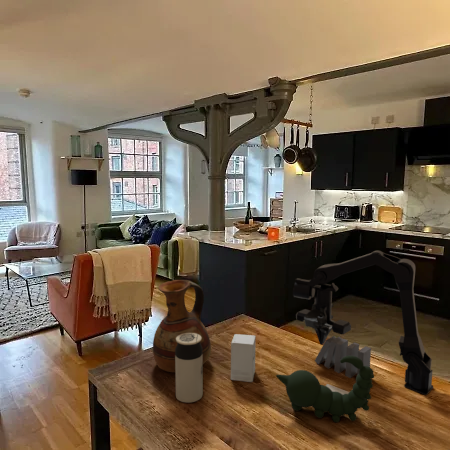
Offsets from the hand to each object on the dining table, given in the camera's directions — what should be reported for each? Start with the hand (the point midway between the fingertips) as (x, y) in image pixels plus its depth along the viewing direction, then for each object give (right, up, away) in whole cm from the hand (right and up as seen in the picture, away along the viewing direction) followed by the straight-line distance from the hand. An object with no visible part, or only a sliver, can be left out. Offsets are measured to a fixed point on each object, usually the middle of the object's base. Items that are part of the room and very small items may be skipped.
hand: (321, 344), depth 127 cm
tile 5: (+11, -8, -11) cm, 17 cm away
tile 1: (0, -6, +1) cm, 6 cm away
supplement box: (-28, -8, -9) cm, 30 cm away
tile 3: (+5, -7, -5) cm, 10 cm away
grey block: (+8, -7, -8) cm, 13 cm away
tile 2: (+2, -7, -2) cm, 7 cm away
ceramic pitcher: (-49, -7, -1) cm, 50 cm away
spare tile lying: (0, -9, -21) cm, 23 cm away
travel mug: (-45, -9, -20) cm, 50 cm away
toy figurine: (-8, -10, -28) cm, 31 cm away
